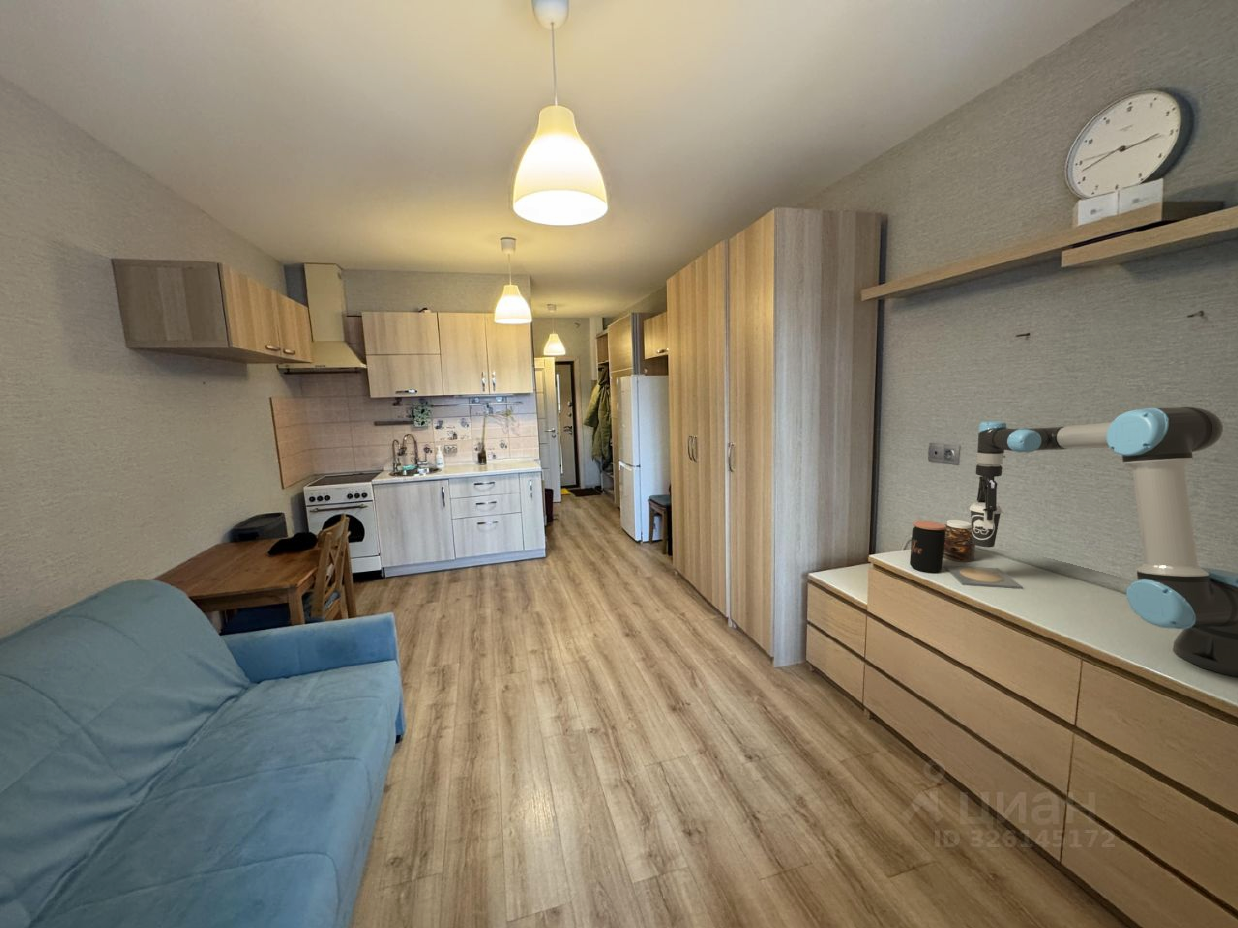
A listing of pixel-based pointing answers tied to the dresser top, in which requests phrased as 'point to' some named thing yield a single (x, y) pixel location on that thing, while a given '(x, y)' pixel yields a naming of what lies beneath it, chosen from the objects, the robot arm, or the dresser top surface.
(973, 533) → the coffee cup
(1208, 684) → the dresser top surface
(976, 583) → the trivet
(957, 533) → the jar
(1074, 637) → the dresser top surface
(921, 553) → the coffee jar
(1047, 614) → the dresser top surface
